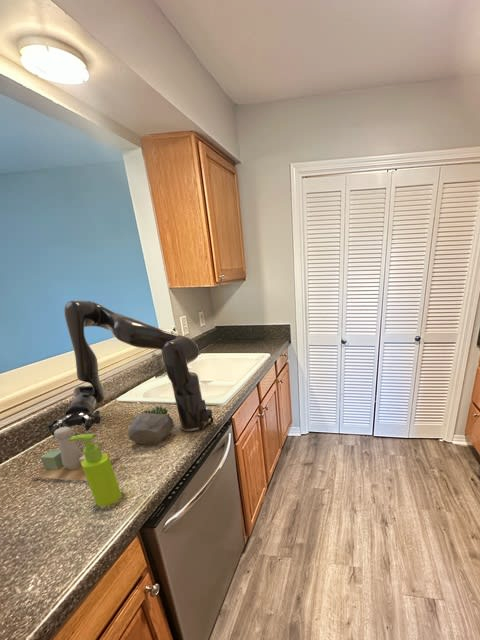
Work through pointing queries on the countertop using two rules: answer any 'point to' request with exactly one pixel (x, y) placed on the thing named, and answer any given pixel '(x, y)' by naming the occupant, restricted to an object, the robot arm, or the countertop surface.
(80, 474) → the wood board
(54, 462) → the sage green cube
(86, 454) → the soap dispenser
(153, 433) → the potted plant
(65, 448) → the salt shaker
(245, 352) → the countertop surface
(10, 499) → the countertop surface
